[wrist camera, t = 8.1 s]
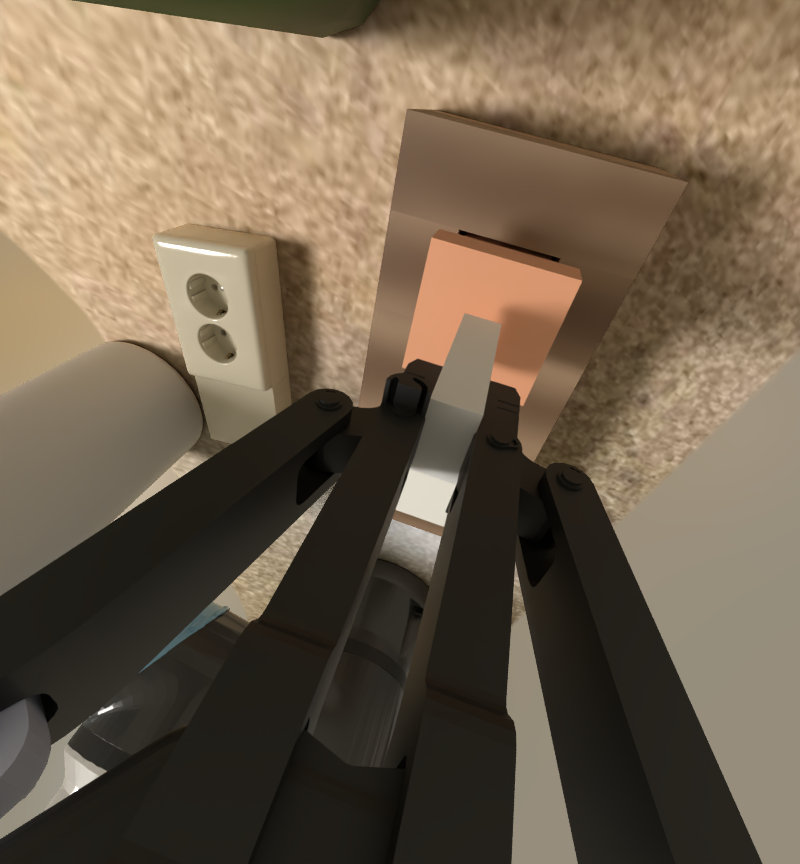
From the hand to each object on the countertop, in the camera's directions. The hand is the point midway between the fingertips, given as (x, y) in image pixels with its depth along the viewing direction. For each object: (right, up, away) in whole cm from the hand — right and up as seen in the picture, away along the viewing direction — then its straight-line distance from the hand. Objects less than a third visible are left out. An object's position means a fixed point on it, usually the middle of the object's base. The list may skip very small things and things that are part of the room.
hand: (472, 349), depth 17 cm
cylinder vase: (-28, 0, +25) cm, 38 cm away
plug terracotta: (+2, +5, +6) cm, 9 cm away
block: (+2, +2, +13) cm, 14 cm away
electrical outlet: (-16, +4, +19) cm, 25 cm away
